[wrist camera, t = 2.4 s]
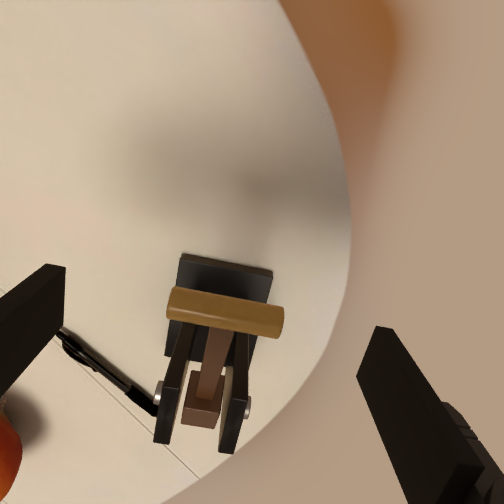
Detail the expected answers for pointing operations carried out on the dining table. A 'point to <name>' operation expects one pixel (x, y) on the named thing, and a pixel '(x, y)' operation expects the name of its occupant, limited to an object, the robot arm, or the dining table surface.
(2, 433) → the fruit
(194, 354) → the switch bracket
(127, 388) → the pen
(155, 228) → the dining table surface
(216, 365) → the lever
